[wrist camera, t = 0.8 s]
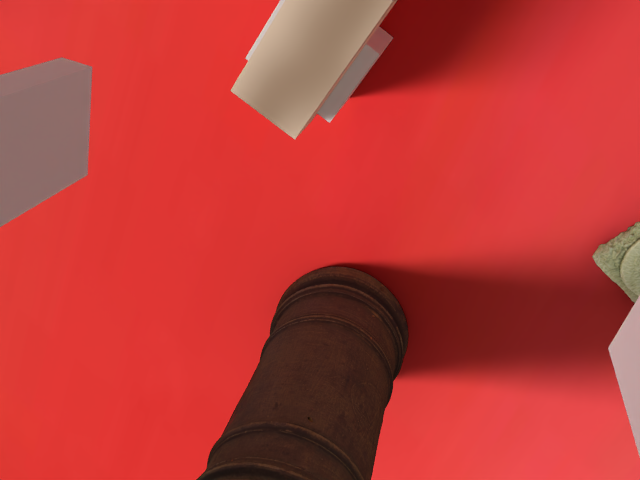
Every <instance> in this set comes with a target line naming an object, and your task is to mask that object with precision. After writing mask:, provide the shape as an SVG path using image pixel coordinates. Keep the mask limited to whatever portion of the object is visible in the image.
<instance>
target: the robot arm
mask: <svg viewBox="0 0 640 480" xmlns="http://www.w3.org/2000/svg"><path fill="white" fill-rule="evenodd" d="M91 83H92V67H91V66H88V65H85V64H81V63H78V62H75V61H72V60H69V59H65V58H58V59H55V60H51V61H48V62H44V63H41V64H37V65H34V66H30V67H27V68H23V69H20V70H16V71H13V72H9V73H6V74H2V75H0V227H1V226H3V225H4V224H6V223H8V222H9V221H11V220H13V219H14V218H16V217H18V216H19V215H21V214H23V213H24V212H26V211H28V210H30V209H31V208H33V207H35V206H36V205H38V204H40V203H41V202H43V201H45V200H46V199H48V198H50V197H51V196H53V195H55V194H56V193H58V192H60V191H61V190H63V189H65V188H66V187H68V186H70V185H71V184H73V183H75V182H77V181H78V180H80V179H82V178H83V177H85V176H87V173H88V151H89V128H90V105H91ZM608 349H609V353H610V356H611V360H612V363H613V367H614V370H615V373H616V377H617V380H618V384H619V387H620V391H621V394H622V398H623V401H624V404H625V408H626V411H627V415H628V418H629V422H630V425H631V428H632V432H633V435H634V439H635V442H636V446H637V449H638V453H639V456H640V296H639V297H638V299H637V301H636V302H635V304H634V306H633V307H632V309H631V311H630V312H629V314H628V316H627V317H626V319H625V321H624V322H623V324H622V326H621V327H620V329H619V331H618V332H617V334H616V336H615V337H614V339H613V341H612V342H611V344H610V346H609V347H608Z"/></svg>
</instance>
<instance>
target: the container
mask: <svg viewBox="0 0 640 480" xmlns="http://www.w3.org/2000/svg"><path fill="white" fill-rule="evenodd" d="M407 345H408V326H407V321H406V318H405V315H404V312H403V310H402V308H401V306H400V304H399V302H398V301H397V299H396V298H395V297H394V295H393V294H392V293H391V292H390V291H389V290H388V289H387V288H386V287H385V286H384V285H383V284H382V283H380V282H379V281H378V280H376V279H375V278H373V277H372V276H370V275H368V274H366V273H364V272H362V271H359V270H356V269H352V268H348V267H327V268H322V269H318V270H314V271H312V272H309V273H307V274H305V275H303V276H302V277H300V278H299V279H298V280H296V281H295V282H294V283H293V284H292V285H291V286H290V287H289V288H288V289H287V290H286V291H285V293H284V294H283V296H282V298H281V299H280V301H279V304H278V306H277V310H276V313H275V315H274V317H273V320H272V323H271V328H270V337H269V338H268V339H267V341H266V343H265V345H264V347H263V350H262V353H261V357H260V362H259V364H258V366H257V368H256V370H255V372H254V374H253V376H252V378H251V380H250V382H249V384H248V386H247V388H246V390H245V392H244V393H243V395H242V397H241V399H240V401H239V403H238V404H237V406H236V408H235V410H234V412H233V414H232V416H231V418H230V420H229V422H228V424H227V426H226V428H225V430H224V432H223V434H222V436H221V437H220V438H219V440H218V441H217V442H216V443H215V445H214V446H213V448H212V450H211V452H210V454H209V458H208V463H207V469H206V471H205V472H204V473H203V474H202V475H201V476H200V477H199V478H198V479H197V480H371V476H372V472H373V466H374V461H375V456H376V450H377V445H378V439H379V435H380V430H381V426H382V422H383V415H384V411H385V408H386V406H387V404H388V402H389V400H390V398H391V394H392V390H393V381H394V380H395V378H396V377H397V375H398V373H399V371H400V368H401V366H402V362H403V358H404V356H405V353H406V349H407Z"/></svg>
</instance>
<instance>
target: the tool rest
mask: <svg viewBox="0 0 640 480" xmlns="http://www.w3.org/2000/svg"><path fill="white" fill-rule="evenodd" d="M284 2H285V0H280V2H279V3H278V5H277V7H276V8H275V10H274V12H273V13H272V15H271V17H270V18H269V20H268V22H267V23H266V25H265V27H264V28H263V30H262V32H261V33H260V35H259V36H258V38H257V40H256V41H255V43H254V45H253V46H252V48H251V50H250V51H249V53H248V55H247V56H246V59H247V60H248V61H249V59H250V58H251V56H252V54H253V53H254V51H255V49H256V48H257V46H258V44H259V43H260V41H261V39H262V38H263V36H264V35H265V33H266V31H267V30H268V28H269V26H270V25H271V23H272V21H273V20H274V18H275V16H276V15H277V13H278V11H279V10H280V8H281V7H282V5H283V3H284ZM392 39H393V37H392V36H391V35H390V34H388V33H387V32H386V31H384V30H383V29H382V28H381V27H378V28H377V30H376V31H375V33H374V34H373V35H372V37H371V38H370V40H369V41H368V42H367V44H366V45H365V47H364V48H363V49H362V51H361V52H360V54H359V55H358V56H357V58H356V59H355V61H354V62H353V63H352V65H351V66H350V68H349V69H348V71H347V72H346V73H345V75H344V76H343V78H342V79H341V80H340V82H339V83H338V85H337V86H336V87H335V89H334V90H333V92H332V93H331V94H330V96H329V97H328V99H327V100H326V101H325V103H324V104H323V106H322V107H321V108H320V110H319V111H318V113H317V114H319V115H320V116H321V117H323V118H324V119H325V120H326V121H328V122H329V123H330V122H331V120H332V119H333V118H334V117H335V115H336V114H337V113H338V112H339V110H340V109H341V108H342V107H343V105H344V104H345V103H346V102H347V100H348V99H349V98H350V97H351V95H352V94H353V92H354V91H355V90H356V88H357V87H358V86H359V84H360V83H361V82H362V80H363V79H364V77H365V76H366V75H367V73H368V72H369V71H370V69H371V68H372V67H373V65H374V64H375V62H376V61H377V60H378V58H379V57H380V56H381V54H382V53H383V52H384V50H385V49H386V48H387V46H388V45H389V43H390V42H391V41H392Z"/></svg>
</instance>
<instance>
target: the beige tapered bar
mask: <svg viewBox="0 0 640 480" xmlns="http://www.w3.org/2000/svg"><path fill="white" fill-rule="evenodd" d="M396 2H397V0H285V2H284V3H283V5H282V7H281V8H280V10H279V11H278V13H277V15H276V16H275V18H274V20H273V21H272V23H271V25H270V26H269V28H268V30H267V31H266V33H265V35H264V36H263V38H262V39H261V41H260V43H259V44H258V46H257V48H256V49H255V51H254V53H253V54H252V56H251V58H250V59H249V61H248V62H247V64H246V66H245V67H244V69H243V71H242V72H241V74H240V76H239V77H238V79H237V81H236V82H235V84H234V86H233V87H232V89H231V90H230V91H231V92H233V93H234V94H235V95H237V96H238V97H239V98H241V99H242V100H243V101H245V102H246V103H247V104H249V105H250V106H251V107H253V108H254V109H255V110H256V111H258V112H259V113H260V114H262V115H263V116H264V117H266V118H267V119H268V120H270V121H271V122H272V123H274V124H275V125H276V126H278V127H279V128H280V129H282V130H283V131H284V132H285V133H287V134H288V135H289V136H291V137H292V138H293V139H296V138H297V137H298V135H299V134H300V133H301V132H302V131H303V130H304V129H305V128H306V127H307V126H308V124H309V123H310V122H311V121H312V120H313V118H314V117H315V115H316V114H317V113H318V111H319V110H320V108H321V107H322V106H323V104H324V103H325V101H326V100H327V99H328V97H329V96H330V94H331V93H332V92H333V90H334V89H335V87H336V86H337V85H338V83H339V82H340V80H341V79H342V78H343V76H344V75H345V73H346V72H347V71H348V69H349V68H350V66H351V65H352V63H353V62H354V61H355V59H356V58H357V56H358V55H359V54H360V52H361V51H362V49H363V48H364V47H365V45H366V44H367V42H368V41H369V40H370V38H371V37H372V35H373V34H374V33H375V31H376V30H377V28H378V27H379V26H380V24H381V23H382V21H383V20H384V19H385V17H386V16H387V14H388V13H389V11H390V10H391V9H392V7H393V6H394V4H395V3H396Z"/></svg>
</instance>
